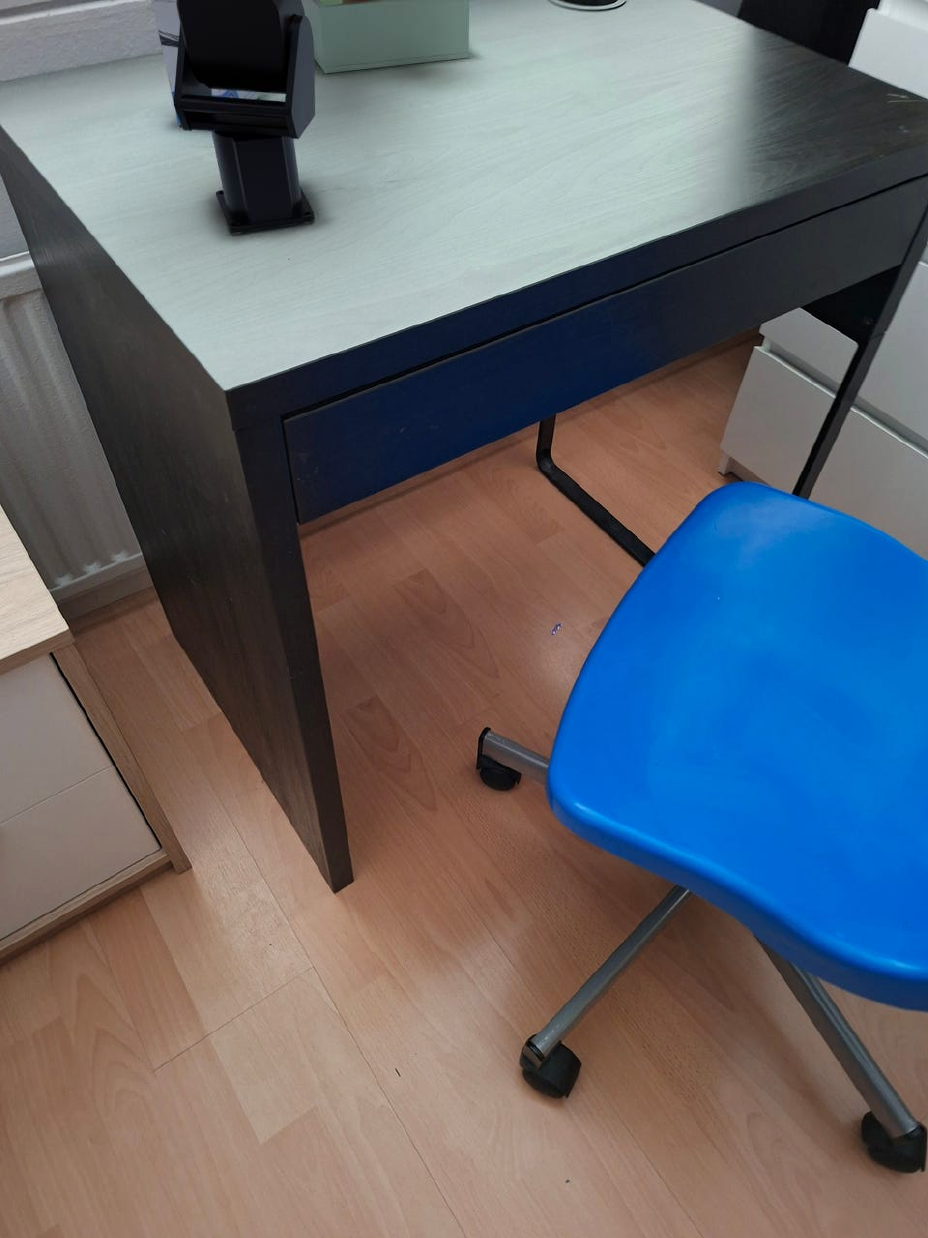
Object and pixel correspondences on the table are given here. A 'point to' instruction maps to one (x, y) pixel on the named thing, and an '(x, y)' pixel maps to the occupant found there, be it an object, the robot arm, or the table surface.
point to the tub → (387, 32)
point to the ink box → (169, 40)
